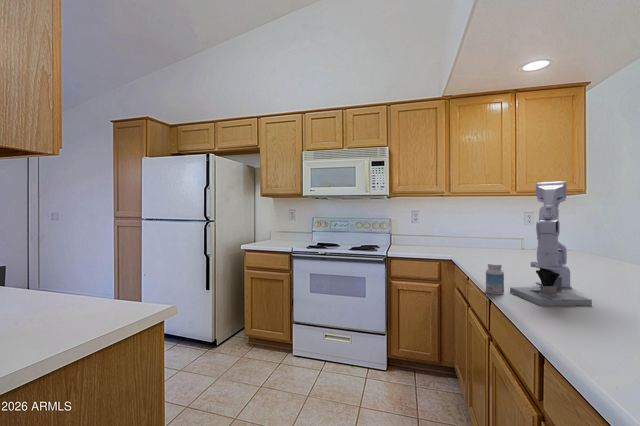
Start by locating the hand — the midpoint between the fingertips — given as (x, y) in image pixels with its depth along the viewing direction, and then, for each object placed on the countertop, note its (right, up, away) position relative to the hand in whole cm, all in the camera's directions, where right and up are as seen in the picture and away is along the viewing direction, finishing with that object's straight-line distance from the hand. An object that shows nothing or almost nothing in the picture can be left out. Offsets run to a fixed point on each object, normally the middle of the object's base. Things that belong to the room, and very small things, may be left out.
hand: (547, 290), depth 105 cm
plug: (+6, -1, +6) cm, 8 cm away
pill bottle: (-14, -3, +9) cm, 17 cm away
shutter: (-1, -1, -5) cm, 5 cm away
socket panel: (+1, -3, +1) cm, 3 cm away
